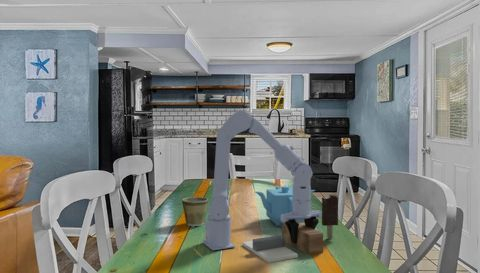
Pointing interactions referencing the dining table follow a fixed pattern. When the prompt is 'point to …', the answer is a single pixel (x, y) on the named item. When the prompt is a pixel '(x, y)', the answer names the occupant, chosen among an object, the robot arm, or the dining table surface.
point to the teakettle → (278, 203)
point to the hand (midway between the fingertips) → (301, 241)
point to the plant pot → (195, 210)
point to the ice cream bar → (330, 213)
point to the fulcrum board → (272, 253)
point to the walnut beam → (305, 239)
